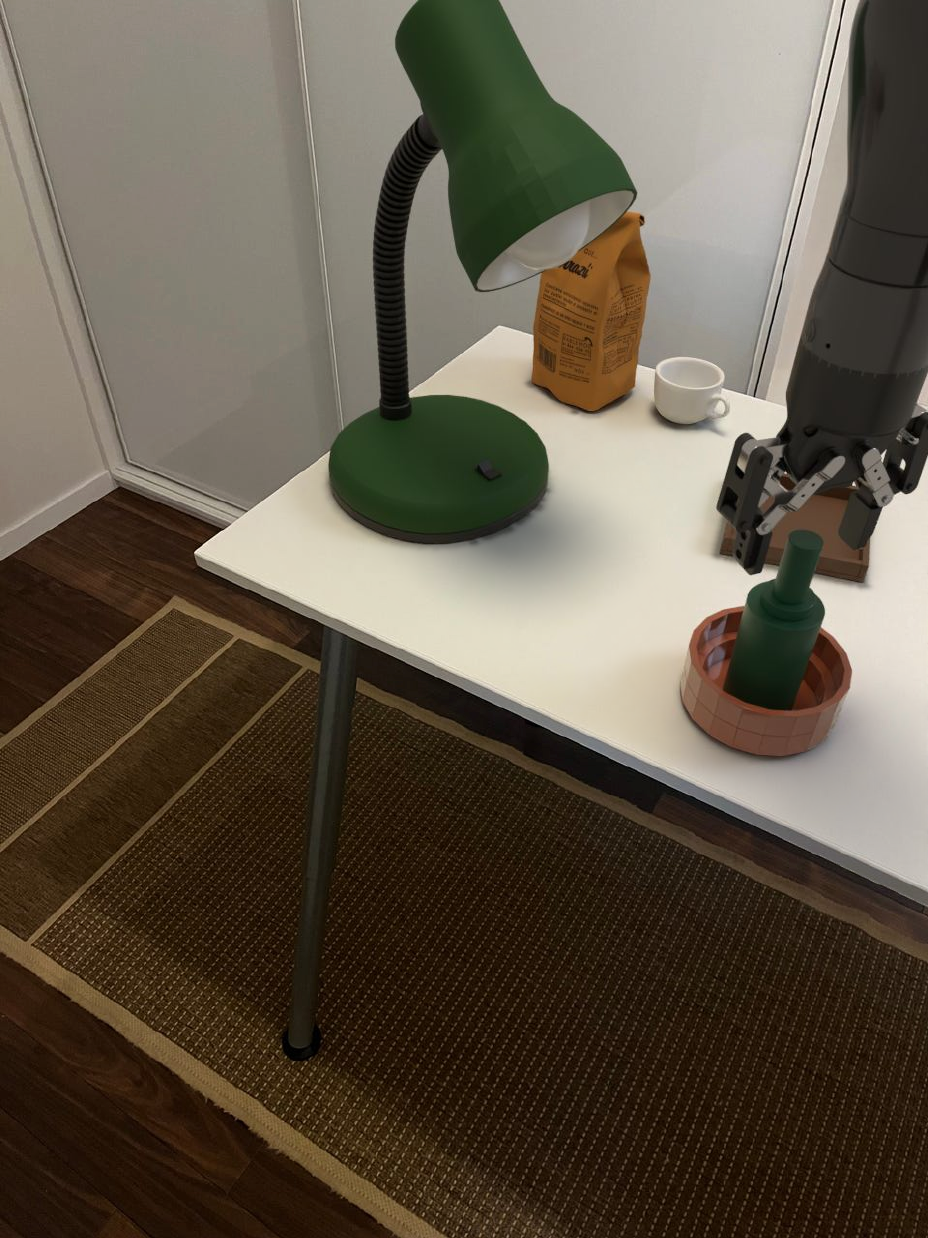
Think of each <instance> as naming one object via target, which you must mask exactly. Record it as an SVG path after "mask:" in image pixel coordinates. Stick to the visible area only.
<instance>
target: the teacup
mask: <svg viewBox="0 0 928 1238" xmlns="http://www.w3.org/2000/svg"><path fill="white" fill-rule="evenodd" d="M725 377H726V376H725V372H724V371H723V370H722V368H720V367H719V366H717V365H716V364H714V363H712V362H711V361H708V360H705V359H701V358H697V357H696V358H695V357H690V356H675V357H670V358H666V359H663V360H662V361H660V362H659V363H657V365H656V366H655V371H654V383H653V385H654V386H653V399H654V400H653V401H654V404H655V408H656V409H657V412H658V413H660V415H661V416H663V417H664V418H665V419H666V420H667V421H669V422H672V423H675V424H678V425H679V424H680V425H693V424H696V423H700V422H702V421H704V420H706V419H707V418H711V419H721V418H725V417H726V416H728V414H729V413H730V410H731V404H730V401H729V399H728V398H727V397H726V396H725V395H723V394H722V391H723V386H724V383H725ZM719 401H721V402H722V403H723V404H724V412H723V413H717V412H715V409H716V408H717V406H718V404H719Z"/></svg>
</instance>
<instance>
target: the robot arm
mask: <svg viewBox="0 0 928 1238" xmlns="http://www.w3.org/2000/svg"><path fill="white" fill-rule="evenodd" d="M847 51H848V52H847V53H848V54H847V106H846V107H847V112H846V113H847V117H846V118H847V119H846V120H847V121H846V180H845V181H846V182H845V186H844V189H843V193H842V195H841V200H840V203H839V208H838V212H837V214H836V219H835V223H834V227H833V230H832V234H831V237H830V242H829V245H828V249H827V253H826V254H825V255H826V256H825V258H824V262H823V264H822V267H821V269H820V272H819V273H818V276H817V279H816V281H815V284H814V286H813V289H812V291H811V294H810V297H809V298H810V299H809V301H808V302H809V303H808V307H807V310H806V313H805V318H804V320H803V321H804V322H803V325H802V328H801V333H800V335H799V340H798V344H797V347H796V351H795V355H794V359H793V363H792V367H791V371H790V374H789V379H788V382H787V385H786V389H785V405H786V419H785V422H784V424H783V425H782V427H781V428H780V430H779V431H778V433H777V434H776V436H775V437H770V438H769V437H768V438H763V439H756V438H755V437H754V436H753V435H752V434H751V433H749V432H743V433H741V434H740V435H739V436H737V438H736V439H735V441H734V443H733V446H732V447H733V448H732V449H731V454H730V457H729V460H728V465H727V468H726V472H725V475H724V477H723V482H722V485H721V489H720V492H719V496H718V499H717V502H716V505H715V506H716V507H715V508H716V511H717V512H718V513H719V514H720V515H721V516H722V517H723V518H724V520H726V522H727V521H728V522H729V523H730V525H731V526H732V527H733V528H734V529H735V530H736V531H737V535H736V539H735V543H734V547H733V551H732V554H733V556H732V558H733V559H734V560H735V561H736V563H738V564H739V566H740V567H741V568H742V569H743V571H745V572H746V573H747V574H748V575H749V576H754V575H758V574H761V573H763V570H764V565H765V559H766V555H767V552H768V548H769V545H770V541H771V538H772V534H773V532H772V531H771V530H772V529H773V528H774V527H775V526H776V525H777V523H778V522H779V521H780V520H781V519H782V518H783V517H784V516H785V515H786V514H787V513H788V512H790V511H793V512H794V511H797V510H799V509H800V508H801V507H802V505H803V504H804V503H805V502H806V501H807V500H808V499H809V498H810V497H811V496H812V495H814V494H819V493H823V492H825V491H827V490H829V489H831V488H845V487H850V486H853V484H854V486H856V487H857V488H858V489H859V491H856V492H851V495H850V498H849V501H848V504H847V507H846V510H845V512H844V515H843V518H842V521H841V524H840V527H839V530H838V534H839V537H840V538H841V539H842V540H843V541H844V542H845V543H846V544H847V545H848V546H849V547H850V548H851V549H853V550H857V549H861V548H864V547H865V546H866V544H867V541H868V539H869V538H870V539H871V537H872V536H873V534H874V533H875V529H876V526H877V524H878V522H879V519H880V516H881V513H882V511H883V508H884V507H886V506H888V505H889V504H890V503H891V502H892V501H893V499H894V496H895V495H897V494H900V493H902V494H903V495H910V494H912V493H913V492H914V491H916V489H917V488H918V486H919V483H920V480H921V477H922V474H923V471H924V468H925V466H926V462H927V459H928V410H927V409H926V408H925V407H924V406H922V405H920V404H918V401H919V398H920V395H921V393H922V390H923V387H924V385H925V382H926V380H927V376H928V0H858V2H857V6H856V9H855V13H854V15H853V19H852V22H851V28H850V35H849V40H848V50H847ZM883 454H884V456H883V458H882V455H883ZM882 459H883V460H882ZM903 461H904V468H902V467H901V465H902V462H903ZM784 473H785V474H787V475H788V476H789V478H790V479H791V480H792V481H793V482H794V483H795V484H796V486H795V488H794V489H793V490H791V491H787V490H786V489H785V488H784V487H783V486H782V485H781V484H780V478H781V476H782V475H783V474H784ZM772 495H773V496H774V498H775V500H774V502H773V503H772V505H771V506H770V507H769V508H768V509H767V510H766V511H765V512H763V511H762V510H761V509H760V507H761V506H762V505H763V504H764V503H765V502H766V501H767V499H768V498H769V497H770V496H772ZM738 498H739V502H737V501H738Z"/></svg>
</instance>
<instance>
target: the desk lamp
mask: <svg viewBox="0 0 928 1238" xmlns="http://www.w3.org/2000/svg"><path fill="white" fill-rule="evenodd" d="M394 47H395V52H396V54H397V56H398V59H399V61H400V63H401V66H402V68H403V69H404V71H405V73H406V75H407V78H408V80H409V81H410V84H411V86H412V88H413V89H414V92H415V93H416V96H417V98H418V100H419V105H420V109H421V112H422V114H421V115H419V116H418V117H417V118H416V119H415V120H414V121H413V122H412V124H411V125H410V126H409V128H408V129H407V130H406V131H405V133H404V134H403V135H402V137H401V139H400V140H399V141H398V143H397V145H396V146H395V148H394V150H393V152H392V154H391V156H390V157H389V160H388V163H387V166H386V169H385V171H384V176H383V178H382V180H381V181H382V182H381V186H380V191H379V194H378V201H377V208H376V212H375V214H376V215H375V218H374V219H375V222H374V227H373V240H372V271H373V272H372V278H373V295H374V309H375V325H376V329H375V330H376V339H377V340H376V344H377V359H378V374H379V375H378V377H379V387H380V388H379V391H380V398H379V400H378V407H376V408H374V409H372V410H369V411H367V412H365V413H363V414H361V415H360V416H358V417H357V418H355V419H354V420H352V421H350V423H348V424H347V425H346V426H345V427H344V428H343V429H342V430H341V431H340V432H339V433H338V434H337V436H336V437H335V439H334V441H333V443H332V444H331V446H330V449H329V457H328V465H327V466H328V467H327V469H328V477H329V485H330V488H331V492H332V495H333V496H334V498H335V500H336V501H337V503H338V504H339V506H340V507H341V508H342V509H343V510H344V511H345V512H346V513H347V514H348V515H349V516H350V517H351V518H353V519H354V520H356V521H358V522H359V523H361V524H362V525H363V526H365V527H367V528H369V529H371V530H374V531H376V532H378V533H380V534H383V535H385V536H388V537H391V538H396V539H399V540H403V541H407V542H414V543H415V542H416V543H421V544H422V543H423V544H449V543H455V542H461V541H469V540H474V539H476V538H480V537H484V536H487V535H491V534H493V533H496V532H498V531H500V530H502V529H505V528H507V527H509V526H511V525H513V524H514V523H516V522H518V521H519V520H521V519H522V518H524V517H526V516H527V515H528V514H529V513H531V511H532V510H534V509H535V508H536V507H537V506H538V505H539V504H540V502H541V501H542V499H543V497H544V496H545V494H546V492H547V491H546V490H547V487H548V483H549V472H550V463H549V457H548V452H547V447H546V445H545V443H544V442H543V440H542V439H541V437H540V436H539V434H538V432H537V431H536V430H535V429H533V427H532V426H531V425H529V423H528V422H527V421H525V420H524V419H522V418H521V417H519V416H518V415H516V414H515V413H513V412H511V411H509V410H507V409H505V408H504V407H501V406H499V405H497V404H494V403H491V402H488V401H486V400H483V399H478V398H473V397H469V396H462V395H454V394H453V395H452V394H428V395H421V396H419V395H418V396H413V397H410V387H409V386H410V383H409V382H410V381H409V361H408V359H409V358H408V356H409V354H408V339H407V338H408V332H407V331H408V330H407V310H406V309H407V307H406V306H407V305H406V288H405V287H406V286H405V285H406V281H405V279H406V278H405V277H406V275H405V260H406V259H405V255H406V251H405V250H406V241H407V234H408V228H409V221H410V215H411V212H412V206H413V201H414V199H415V194H416V191H417V188H418V186H419V183H420V180H421V178H422V177H423V174H424V173H425V171H426V169H427V168H428V167H429V166H430V163H431V162H432V161H433V160H434V159H435V157H437V155H438V154H440V152H441V151H442V152H443V155H444V157H445V161H446V164H447V171H448V180H447V199H448V208H449V216H450V222H451V229H452V234H453V240H454V246H455V251H456V255H457V257H458V260H459V261H460V264H461V265H462V267H463V270H464V271H465V273H466V275H467V277H468V279H469V281H470V283H471V285H472V287H473V289H474V291H475V292H478V293H491V292H494V291H499V290H502V289H506V288H509V287H511V286H514V285H517V284H519V283H522V282H525V281H526V280H530V279H531V278H534V277H536V276H537V275H541V273H542V272H544V271H546V270H548V269H554V268H557V267H559V266H561V265H562V264H564V263H566V262H567V261H569V260H571V259H572V258H573V257H574V256H575V254H576V253H577V252H579V251H580V250H581V249H583V248H584V247H586V246H587V245H589V244H590V243H591V242H593V241H594V240H595V239H597V238H598V237H599V236H600V235H602V234H603V233H604V232H605V231H607V230H608V229H609V228H610V227H611V226H612V225H614V224H615V223H616V222H617V221H618V220H619V219H620V218H621V217H622V216H623V215H624V214H625V213H626V212H629V210H630V209H631V207H632V206H633V205H634V203H635V201H636V200H637V197H638V190H637V188H636V186H635V184H634V182H633V180H632V178H631V176H630V174H629V172H628V169H627V168H626V166H625V164H624V162H623V160H622V158H621V157H620V155H619V154H618V153H617V152H616V151H615V149H614V148H612V146H611V145H609V143H608V142H606V140H605V139H603V137H601V135H600V134H599V133H597V131H596V130H594V129H593V128H592V127H591V126H590V125H589V123H587V122H586V121H585V120H584V119H582V118H581V116H579V115H578V114H577V113H575V112H574V111H573V110H571V109H570V108H568V107H566V106H565V105H562V104H560V103H559V102H558V101H556V100H555V99H554V98H553V97H552V96H551V94H550V93H549V91H548V90H547V88H546V87H545V85H544V83H543V81H542V80H541V79H540V76H539V75H538V73H537V71H536V70H535V68H534V65H533V64H532V62H531V60H530V58H529V57H528V56H529V55H528V54H527V52H526V51H525V49H524V46H523V44H522V43H521V41H520V39H519V37H518V35H517V33H516V31H515V29H514V27H513V25H512V23H511V21H510V19H509V17H508V15H507V13H506V11H505V9H504V7H503V5H502V3H501V0H417V1H415V3H414V4H413V5H412V6H411V7H410V9H408V11H407V12H406V14H405V15H404V17H403V18H402V19H401V21H400V24H399V25H398V27H397V30H396V32H395V37H394Z"/></svg>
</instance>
